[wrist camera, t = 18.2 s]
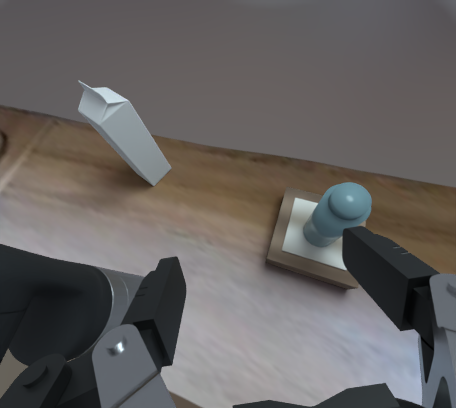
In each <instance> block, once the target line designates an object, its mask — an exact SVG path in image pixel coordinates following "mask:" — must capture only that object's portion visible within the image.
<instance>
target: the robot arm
mask: <svg viewBox="0 0 456 408" xmlns="http://www.w3.org/2000/svg"><path fill="white" fill-rule="evenodd" d="M342 259H343V263H344V265H345V267H346V269H347V270H348V271H349V272H350V274H351V275H352V276H353V277H354V278H355V279H356V281H357V282H358V283H359V284H360V285H361V286H362V287H363V289H364V290H365V291H366V292H367V293H368V294H369V295H370V297H371V298H372V299H373V300H374V301H375V302H376V304H377V305H378V306H379V307H380V308H381V309H382V310H383V312H384V313H385V314H386V315H387V316H388V317H389V318H390V320H391V321H392V322H393V323H394V324H395V325H396V327H397V328H398V329H399V330H400V331H405V330H411V329H415V330H416V331H417V332H418V333H419V336H418V348H419V360H420V371H421V382H422V406H420V405H418V404H415V403H412V402H409V401H406V400H402V399H398V398H395V397H394V396H393V394H392V393H391V391H390V390H389V388H388V386H387V385H386V383H382V384H375V385H369V386H362V387H355V388H348V389H346V390H344V391H342V392H340V393H338V394H336V395H334V396H333V397H331V398H329V399H327V400H325V401H323V402H321V403H320V404H318V405H316V406H312V407H308V406H302V405H296V404H290V403H284V402H278V401H272V400H267V401H260V402H253V403H246V404H240V405H233V408H456V275H454V274H440V273H439V272H437V271H436V270H434V269H433V268H432V267H430V266H429V265H427V264H426V263H424V262H423V261H421V260H420V259H418V258H417V257H415V256H414V255H412V254H411V253H408V251H407V250H405V249H404V248H402V247H400V246H399V245H398V244H396V243H395V242H393V241H392V240H390V239H388V238H386V237H383V236H380V235H378V234H373V233H372V232H371V231H369V230H368V229H366V228H365V227H364V226H356V227H350V228H345V229H344V230H343V234H342ZM185 298H186V283H185V279H184V276H183V273H182V269H181V266H180V263H179V260H178V258H177V257H170V258H164V259H161V260H160V261H159V263H158V266H157V268H156V270H155V271H151V272H150V273H149V274H148V275H147V276H146V277H143V276H139V275H134V274H129V273H124V272H119V271H115V270H110V269H105V268H100V267H96V266H90V265H86V264H80V263H74V262H68V261H63V260H58V259H53V258H49V257H45V256H42V255H38V254H34V253H30V252H27V251H23V250H20V249H17V248H13V247H10V246H6V245H3V244H0V363H1V361H2V359H3V357H4V355H5V353H6V351H7V349H8V348H9V350H10V352H11V353H12V355H13V356H14V357H15V358H16V359H17V360H18V361H20V362H21V363H23V364H25V365H28V366H29V367H28V368H26V369H25V370H24V371H23V372H22V373H21V374H20V375H19V376H18V377H17V378H16V379H15V380H14V382H13V383H12V384H11V386H10V387H9V388H8V390H7V391H6V392H5V394H4V395H3V396H2V397H1V399H0V408H176V406H175V404H174V402H173V400H172V398H171V396H170V394H169V392H168V390H167V388H166V385H165V383H164V381H163V379H162V377H161V375H160V373H161V368H162V367H164V366H170V365H172V363H173V358H174V353H175V348H176V343H177V338H178V333H179V328H180V323H181V318H182V313H183V308H184V303H185ZM80 356H81V357H80ZM77 357H78V358H77ZM73 358H76V359H74V360H71V359H73ZM69 360H71V361H69ZM67 361H69V362H67Z"/></svg>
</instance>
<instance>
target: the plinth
mask: <svg viewBox="0 0 456 408" xmlns="http://www.w3.org/2000/svg"><path fill="white" fill-rule="evenodd" d="M322 197H323V195H319V194H315V193H311V192H307V191H303V190H298V189H294V188H290V187H286V191H285V194H284V198H283V202H282V205H281V209H280V212H279V216H278V220H277V223H276V227H275V230H274V234H273V238H272V241H271V245H270V248H269V252H268V256H267V259H266V263H269V264H272V265H276V266H279V267H282V268H285V269H288V270H291V271H294V272H297V273H300V274H303V275H306V276H309V277H312V278H315V279H318V280H321V281H324V282H327V283H330V284H333V285H336V286H339V287H342V288H345V289H355V288H358V284H359V283H358V282H357V281H356V279H355V278H354V277H353V276H352V275H351V274H350V272H349V271H348V270H347V269H346V267H345V265H344V263H343V259H342V237H341V238H339V239H338V240H336V241H335V242H334V243H332V244H331V245H329V246H327V247H316V246H314V245H312V244H310V243H309V242H308V241H307V240H306V238H305V237H304V233H303V227H304V225H305V223H306V221H307V220H308V218H309V217H310V215H311V214H312V212H313V211H314V209H315V208H316V206H317V205H318V203H319V201H320V200H321V198H322ZM365 224H366V220H365V221H364V222H362V223H361V224H359V225H358V226H364V227H365Z"/></svg>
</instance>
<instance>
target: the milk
mask: <svg viewBox="0 0 456 408" xmlns="http://www.w3.org/2000/svg"><path fill="white" fill-rule="evenodd" d="M78 82H79V83H80V84H81V85H82V87H83V88H84V92H83V96H82V99H81V102H80V105H79V108H78V111H79V112H80V113H81V114H82V115H83V116H84V117H85V118H86V120H87V121H88V122H89V123H90V124H91V125H92V126H93V127H94V128H95V129H96V130H97V131H98V132H99V133H100V135H101V136H102V137H103V138H104V139H105V140H106V141H107V142H108V143H109V144H110V145H111V146H112V147H113V148H114V149H115V151H116V152H117V153H118V154H119V155H120V156H121V157H122V158H123V159H124V160H125V161H126V162H127V163H128V164H129V166H130V167H131V168H132V169H133V170H134V171H135V172H136V173H137V174H138V175H139V176H141V177H142V178H143V179H145V180H146V181H147V182H149V183H150V184H151V185H153V186H155V185H156V184H157V183H158V182H159V181H160V180H161V179H162V178H163V177H164V176H165V175H166V174H167V173H168V172H169V171H170V170H171V166H170V165H169V163H168V162H167V160H166V158H165V157H164V155H163V154H162V152H161V151H160V149H159V147H158V146H157V144H156V143H155V141H154V140H153V138H152V136H151V135H150V133H149V132H148V130H147V129H146V127H145V125H144V124H143V122H142V121H141V119H140V117H139V116H138V114H137V113H136V111H135V110H134V108H133V106H132V105H131V103H130V102H129V100H127V99H125V98H123V97H122V96H120V95H118V94H117V93H115V92H113V91H112V90H110V89H108V88H106V87H105V88H90V87H89V86H87V85H85V84H84V83H82V82H80V81H78Z"/></svg>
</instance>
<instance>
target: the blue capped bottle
mask: <svg viewBox="0 0 456 408" xmlns="http://www.w3.org/2000/svg"><path fill="white" fill-rule="evenodd" d="M371 202H372V201H371V196H370V194H369V193H368V191H367V190H366V189H365V188H364V187H362V186H360V185H358V184H356V183H342V184H339V185H335V186H332V187H331V188H329V189H328V190H327V191H326V192H325V194H324V195H323V197H322V198H321V200H320V201H319V203H318V205H317V206H316V208H315V209H314V211H313V212H312V214H311V215H310V217H309V218H308V220H307V221H306V223H305V225H304V227H303V233H304V237H305V238H306V240H307V241H308V242H309V243H310V244H312V245H314V246H316V247H327V246H329V245H331V244H332V243H334V242H335V241H336V240H338V239H339V238H341V237H342V234H343V230H344V229H345V228H350V227H356V226H358V225H359V224H361V223H362V222H364V221H365V220H366V219H367V218H368V216H369V215H370V212H371Z"/></svg>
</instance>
